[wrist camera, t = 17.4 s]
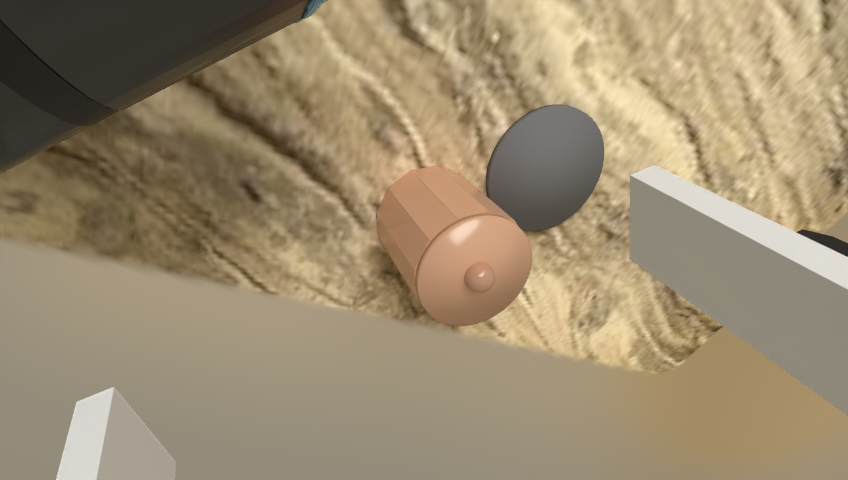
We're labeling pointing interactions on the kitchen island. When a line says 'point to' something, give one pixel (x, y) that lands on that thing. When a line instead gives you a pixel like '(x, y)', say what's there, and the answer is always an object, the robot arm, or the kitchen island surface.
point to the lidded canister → (453, 246)
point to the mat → (545, 166)
